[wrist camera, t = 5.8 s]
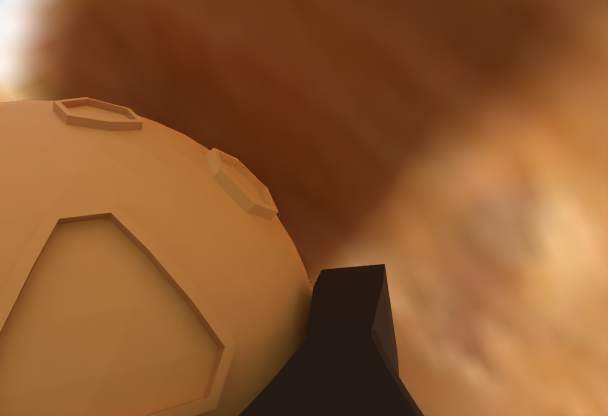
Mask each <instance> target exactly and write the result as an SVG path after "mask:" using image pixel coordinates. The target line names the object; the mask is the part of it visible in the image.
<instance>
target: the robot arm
mask: <svg viewBox="0 0 608 416" xmlns="http://www.w3.org/2000/svg"><path fill="white" fill-rule="evenodd" d="M238 416H424V415H423V413H422V412H421V411H420V409H419V408H418V406H417V405H416V403H415V402H414V400H413V398H412V397H411V395H410V394H409V392H408V391H407V389H406V388H405V386H404V384H403V383H402V381H401V379H400V378H399V371H398V357H397V347H396V340H395V333H394V326H393V319H392V312H391V305H390V298H389V291H388V284H387V277H386V269H385V264H380V265H369V266H358V267H347V268H336V269H325V270H322V271H321V273H320V275H319V276H318V278H317V280H316V283H315V285H314V287H313V293H312V300H311V307H310V314H309V322H308V329H307V337H306V338H305V339H304V341H303V342H302V343H301V344H300V346H299V347H298V348H297V350H296V351H295V352H294V353H293V355H292V356H291V357H290V358H289V360H288V361H287V362H286V364H285V365H284V366H283V367H282V369H281V370H280V371H279V372H278V373H277V375H276V376H275V377H274V378H273V379H272V380H271V381H270V383H269V384H268V385H267V386H266V387H265V388H264V389H263V390H262V391H261V393H260V394H259V395H258V396H257V397H256V398H255V399H254V400H253V401H252V402H251V403H250V404H249V405H248V406H247V407H246V408H245V409H244V410H243V411H242V412H241V413H240V414H239V415H238Z"/></svg>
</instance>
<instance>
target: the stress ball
mask: <svg viewBox="0 0 608 416" xmlns="http://www.w3.org/2000/svg"><path fill="white" fill-rule="evenodd" d="M277 213H278V210H277V208H276V206H275V203H274V201H273V199H272V197H271V195H270V192H269V190H268V188H267V187H266V186H265V185H264V184H263V183H262V182H261V181H259V180H258V179H257V178H256V177H255V176H254V175H253V174H252V173H251V172H250V171H249V170H248V169H247V168H246V167H245V166H244V165H243V164H242V163H241V162H240V161H239V160H238V159H237V158H235V157H233V156H231V155H228V154H226V153H224V152H222V151H220V150H218V149H215V148H213V149H212V150H211V151H210V150H209V149H207V148H205V147H204V146H202V145H201V144H199V143H197V142H196V141H194V140H192V139H191V138H189V137H188V136H186V135H184V134H182V133H180V132H178V131H175V130H173V129H171V128H169V127H167V126H164V125H162V124H160V123H157V122H155V121H152V120H149V119H147V118H144V117H140V116H137V115H136V114H135V113H134V112H133V111H132V109H130V108H126V107H122V106H118V105H114V104H111V103H107V102H103V101H99V100H95V99H91V98H87V97H84V98H75V99H66V100H57V101H45V100H22V101H11V102H0V416H238V415H239V414H240V413H241V412H242V411H243V410H244V409H245V408H246V407H247V406H248V405H249V404H250V403H251V402H252V401H253V400H254V399H255V398H256V397H257V396H258V395H259V394H260V393H261V391H262V390H263V389H264V388H265V387H266V386H267V385H268V384H269V383H270V381H271V380H272V379H273V378H274V377H275V376H276V375H277V373H278V372H279V371H280V370H281V369H282V367H283V366H284V365H285V364H286V362H287V361H288V360H289V358H290V357H291V356H292V355H293V353H294V352H295V351H296V350H297V348H298V347H299V346H300V344H301V343H302V342H303V341H304V339H305V338H306V337H307V329H308V322H309V314H310V307H311V300H312V293H313V292H312V289H311V285H310V282H309V279H308V276H307V273H306V270H305V267H304V265H303V263H302V260H301V258H300V256H299V254H298V252H297V250H296V247H295V245H294V243H293V241H292V240H291V238H290V236H289V235H288V233H287V231H286V230H285V228H284V227H283V225H282V223H281V222H280V220H279V219H278V217H277V215H276V214H277Z"/></svg>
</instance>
